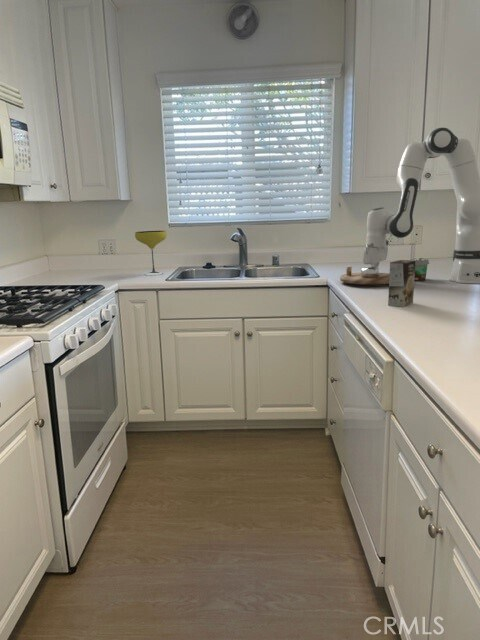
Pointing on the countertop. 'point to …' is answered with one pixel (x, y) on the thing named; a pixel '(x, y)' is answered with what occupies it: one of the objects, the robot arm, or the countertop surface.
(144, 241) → the cocktail glass
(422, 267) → the food container
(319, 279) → the countertop surface
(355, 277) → the turntable
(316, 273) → the countertop surface
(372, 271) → the cover
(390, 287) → the coffee box
